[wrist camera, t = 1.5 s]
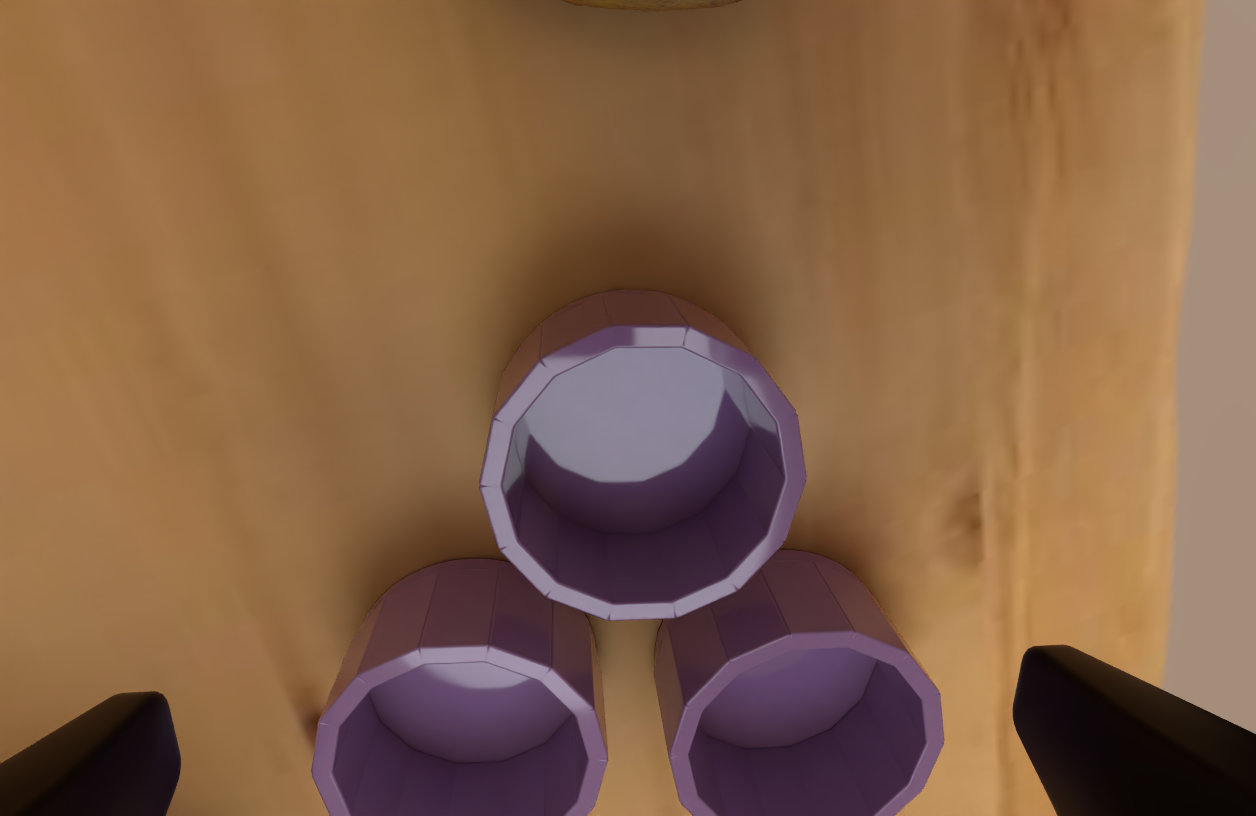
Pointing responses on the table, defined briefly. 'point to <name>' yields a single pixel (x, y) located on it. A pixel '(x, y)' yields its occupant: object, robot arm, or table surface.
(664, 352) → the dish
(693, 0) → the decorative figurine
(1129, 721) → the robot arm
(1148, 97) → the table surface
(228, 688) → the table surface
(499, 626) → the dish
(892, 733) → the dish
